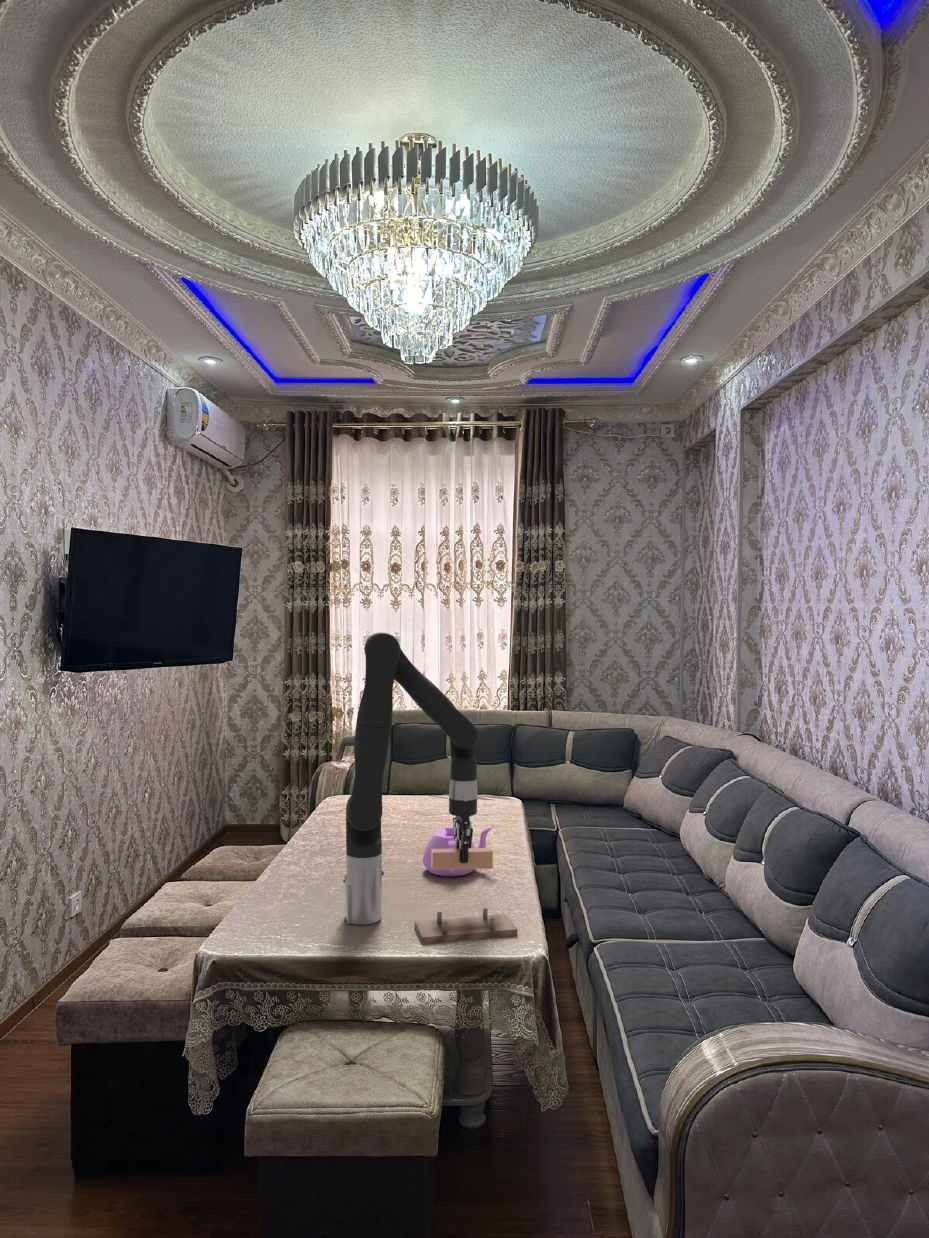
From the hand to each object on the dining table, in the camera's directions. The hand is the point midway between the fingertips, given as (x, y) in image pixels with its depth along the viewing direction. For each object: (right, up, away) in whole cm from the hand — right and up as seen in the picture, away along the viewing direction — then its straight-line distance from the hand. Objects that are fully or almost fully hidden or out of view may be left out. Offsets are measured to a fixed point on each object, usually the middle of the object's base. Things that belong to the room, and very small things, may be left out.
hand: (462, 860), depth 225 cm
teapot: (-1, -14, +38) cm, 40 cm away
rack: (+1, -14, -12) cm, 19 cm away
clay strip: (0, -2, 0) cm, 2 cm away
